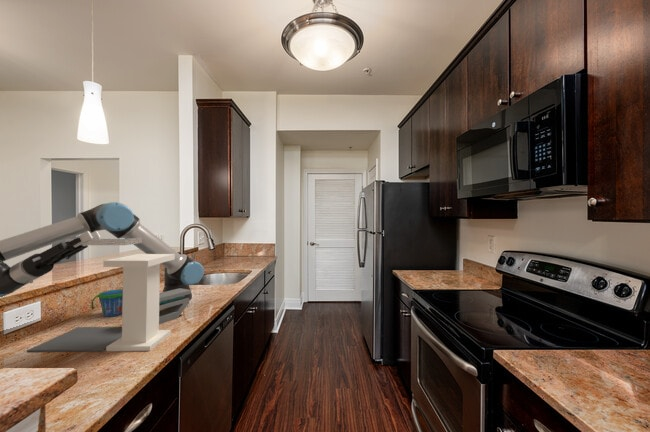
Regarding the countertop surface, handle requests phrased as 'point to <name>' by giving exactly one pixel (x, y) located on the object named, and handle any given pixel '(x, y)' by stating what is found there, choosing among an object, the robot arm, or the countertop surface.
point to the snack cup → (110, 302)
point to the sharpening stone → (172, 304)
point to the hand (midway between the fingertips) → (94, 234)
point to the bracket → (111, 241)
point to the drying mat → (81, 340)
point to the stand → (140, 301)
